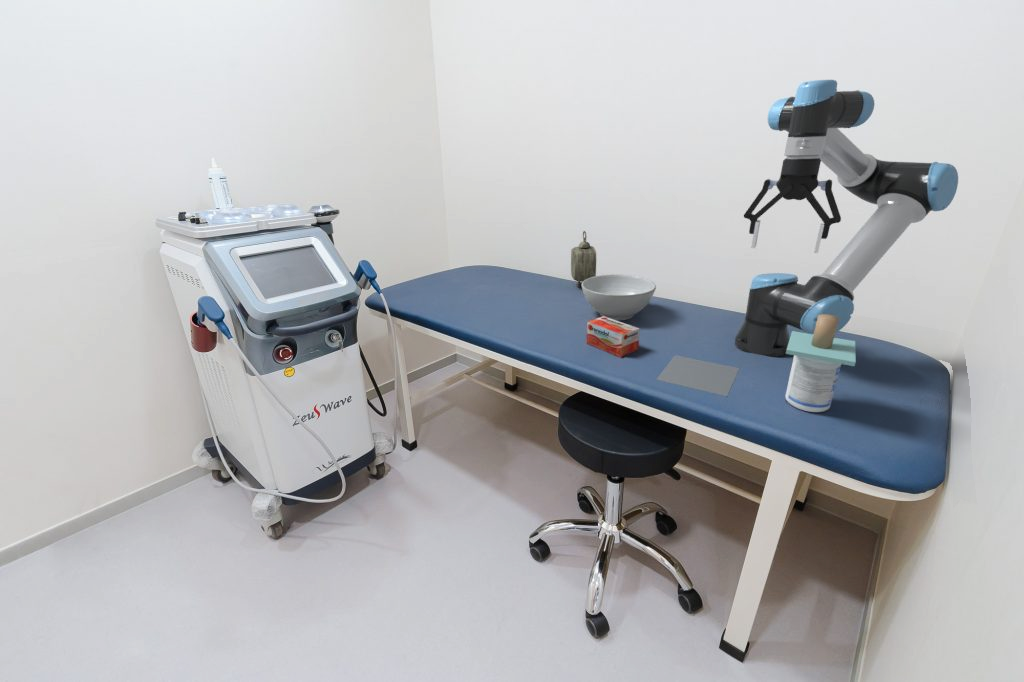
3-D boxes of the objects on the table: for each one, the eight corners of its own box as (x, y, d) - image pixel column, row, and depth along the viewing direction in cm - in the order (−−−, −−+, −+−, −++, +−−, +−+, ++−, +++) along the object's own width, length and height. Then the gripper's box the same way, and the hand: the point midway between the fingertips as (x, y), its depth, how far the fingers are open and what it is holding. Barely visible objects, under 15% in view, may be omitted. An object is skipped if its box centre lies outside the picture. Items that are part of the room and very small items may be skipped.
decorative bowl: (646, 303, 186) (649, 274, 181) (659, 328, 161) (662, 295, 156) (579, 303, 188) (580, 274, 184) (582, 327, 164) (582, 295, 159)
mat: (674, 356, 140) (674, 355, 140) (739, 369, 131) (739, 368, 131) (656, 381, 126) (656, 379, 126) (726, 398, 117) (727, 396, 117)
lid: (791, 334, 116) (797, 304, 113) (854, 345, 109) (863, 313, 106) (785, 353, 106) (792, 321, 103) (854, 366, 99) (864, 332, 96)
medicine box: (638, 351, 145) (640, 327, 142) (621, 359, 140) (623, 334, 137) (602, 337, 156) (603, 315, 153) (585, 344, 151) (585, 321, 148)
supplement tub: (837, 415, 108) (853, 358, 103) (793, 412, 110) (806, 357, 104) (818, 394, 117) (832, 341, 111) (778, 392, 119) (790, 340, 113)
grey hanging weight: (595, 291, 203) (597, 233, 193) (574, 292, 203) (575, 234, 193) (589, 282, 216) (591, 227, 206) (570, 282, 216) (571, 228, 206)
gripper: (740, 158, 110) (726, 248, 118) (870, 157, 97) (844, 257, 105) (745, 157, 115) (732, 242, 124) (868, 155, 102) (844, 251, 111)
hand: (783, 249), depth 114 cm, fingers open, 13 cm apart
